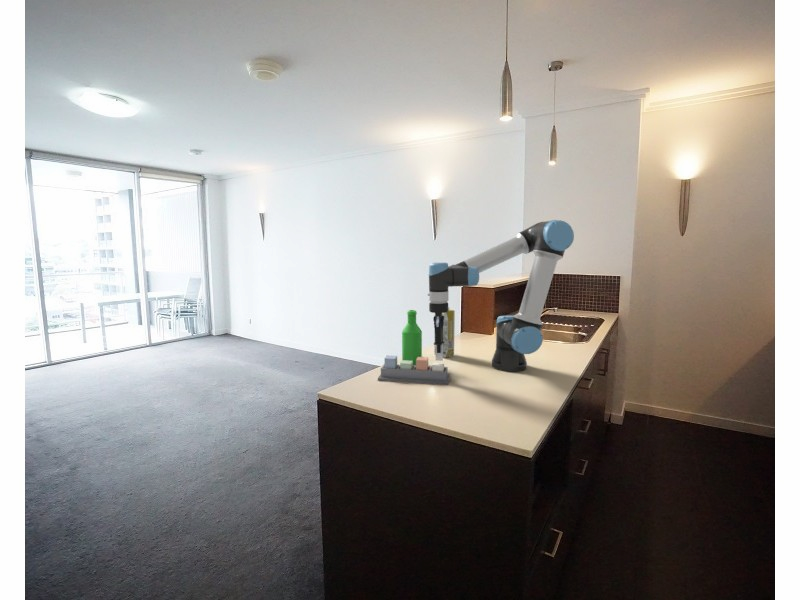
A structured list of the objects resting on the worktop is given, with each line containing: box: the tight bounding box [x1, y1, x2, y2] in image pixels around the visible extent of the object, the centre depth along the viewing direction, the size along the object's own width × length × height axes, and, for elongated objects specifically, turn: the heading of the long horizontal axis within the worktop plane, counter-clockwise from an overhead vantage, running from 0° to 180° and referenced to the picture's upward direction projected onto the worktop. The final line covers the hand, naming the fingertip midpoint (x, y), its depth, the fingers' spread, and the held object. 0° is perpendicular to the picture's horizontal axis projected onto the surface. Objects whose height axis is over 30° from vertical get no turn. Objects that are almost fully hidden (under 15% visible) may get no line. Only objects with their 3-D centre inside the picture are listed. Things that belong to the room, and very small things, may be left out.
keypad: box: [377, 363, 451, 386], centre depth 165 cm, size 28×11×4 cm, turn 79°
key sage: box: [399, 360, 413, 370], centre depth 166 cm, size 4×4×5 cm
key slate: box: [384, 355, 398, 369], centre depth 167 cm, size 4×4×5 cm
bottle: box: [401, 309, 423, 365], centre depth 182 cm, size 9×9×25 cm
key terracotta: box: [416, 356, 429, 371], centre depth 164 cm, size 4×4×5 cm
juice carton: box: [433, 306, 456, 359], centre depth 197 cm, size 9×8×24 cm
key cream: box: [431, 361, 445, 371], centre depth 163 cm, size 4×4×5 cm
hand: (439, 359), depth 163 cm, fingers closed
